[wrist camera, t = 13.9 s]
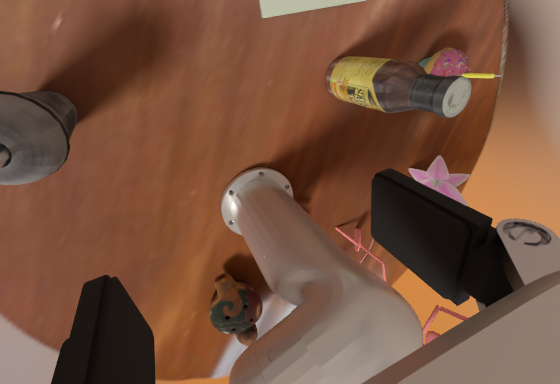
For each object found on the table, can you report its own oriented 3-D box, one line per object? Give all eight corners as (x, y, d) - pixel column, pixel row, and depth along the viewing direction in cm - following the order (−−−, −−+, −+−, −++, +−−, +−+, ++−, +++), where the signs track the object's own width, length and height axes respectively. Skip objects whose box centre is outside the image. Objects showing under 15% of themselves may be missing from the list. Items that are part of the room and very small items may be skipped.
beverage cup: (11, 67, 29) (-169, 92, 12) (95, 89, 32) (41, 132, 16) (10, 134, 31) (-144, 232, 15) (88, 149, 35) (35, 240, 18)
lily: (421, 138, 58) (438, 161, 51) (468, 157, 60) (491, 183, 52) (388, 181, 65) (398, 207, 58) (431, 197, 67) (446, 225, 59)
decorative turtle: (225, 327, 58) (232, 362, 51) (190, 278, 50) (192, 312, 43) (267, 303, 59) (279, 335, 52) (239, 253, 52) (249, 282, 45)
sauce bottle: (316, 88, 43) (419, 112, 27) (336, 47, 42) (457, 48, 25) (346, 105, 47) (453, 137, 30) (365, 68, 45) (488, 81, 29)
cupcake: (441, 40, 48) (516, 38, 39) (440, 88, 53) (507, 97, 43) (402, 58, 47) (470, 61, 37) (404, 106, 52) (465, 120, 42)
